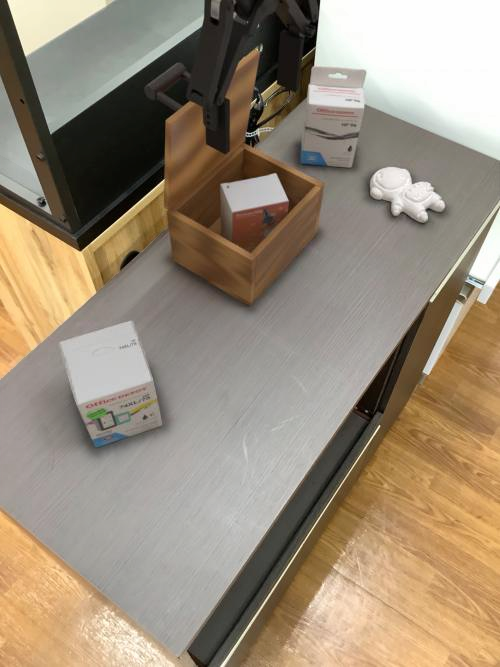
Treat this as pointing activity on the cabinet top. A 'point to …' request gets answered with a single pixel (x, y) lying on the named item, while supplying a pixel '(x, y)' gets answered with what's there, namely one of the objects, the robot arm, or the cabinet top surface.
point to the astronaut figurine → (405, 193)
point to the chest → (224, 256)
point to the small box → (251, 210)
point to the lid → (199, 127)
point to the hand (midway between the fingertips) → (254, 116)
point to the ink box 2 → (332, 116)
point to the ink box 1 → (111, 383)
